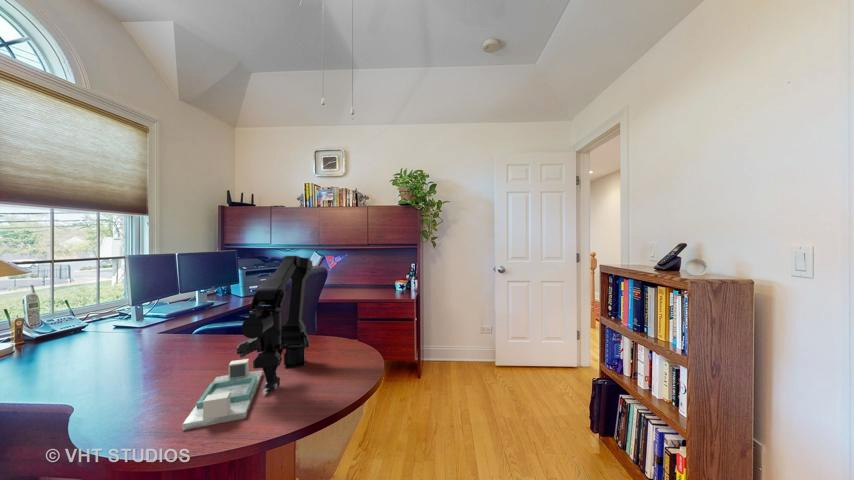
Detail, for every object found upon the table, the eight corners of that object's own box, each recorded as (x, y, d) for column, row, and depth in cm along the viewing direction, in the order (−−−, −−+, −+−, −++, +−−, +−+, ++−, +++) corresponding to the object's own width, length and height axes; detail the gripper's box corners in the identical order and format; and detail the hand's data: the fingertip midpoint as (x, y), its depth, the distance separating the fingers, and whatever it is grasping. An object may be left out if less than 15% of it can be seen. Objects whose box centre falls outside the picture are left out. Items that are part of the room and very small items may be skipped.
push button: (272, 397, 85) (272, 363, 84) (254, 395, 85) (254, 362, 85) (284, 385, 91) (285, 353, 91) (268, 383, 92) (269, 352, 91)
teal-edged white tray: (262, 374, 99) (262, 366, 99) (245, 418, 74) (245, 407, 74) (216, 381, 94) (216, 373, 94) (182, 430, 70) (182, 419, 70)
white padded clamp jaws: (248, 372, 98) (248, 358, 98) (227, 415, 73) (227, 397, 73) (231, 374, 96) (231, 361, 96) (203, 420, 71) (203, 401, 71)
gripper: (246, 322, 94) (246, 370, 94) (231, 340, 77) (231, 400, 77) (284, 318, 98) (284, 365, 98) (278, 335, 81) (278, 391, 81)
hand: (270, 378), depth 88 cm, fingers closed on push button, 4 cm apart
